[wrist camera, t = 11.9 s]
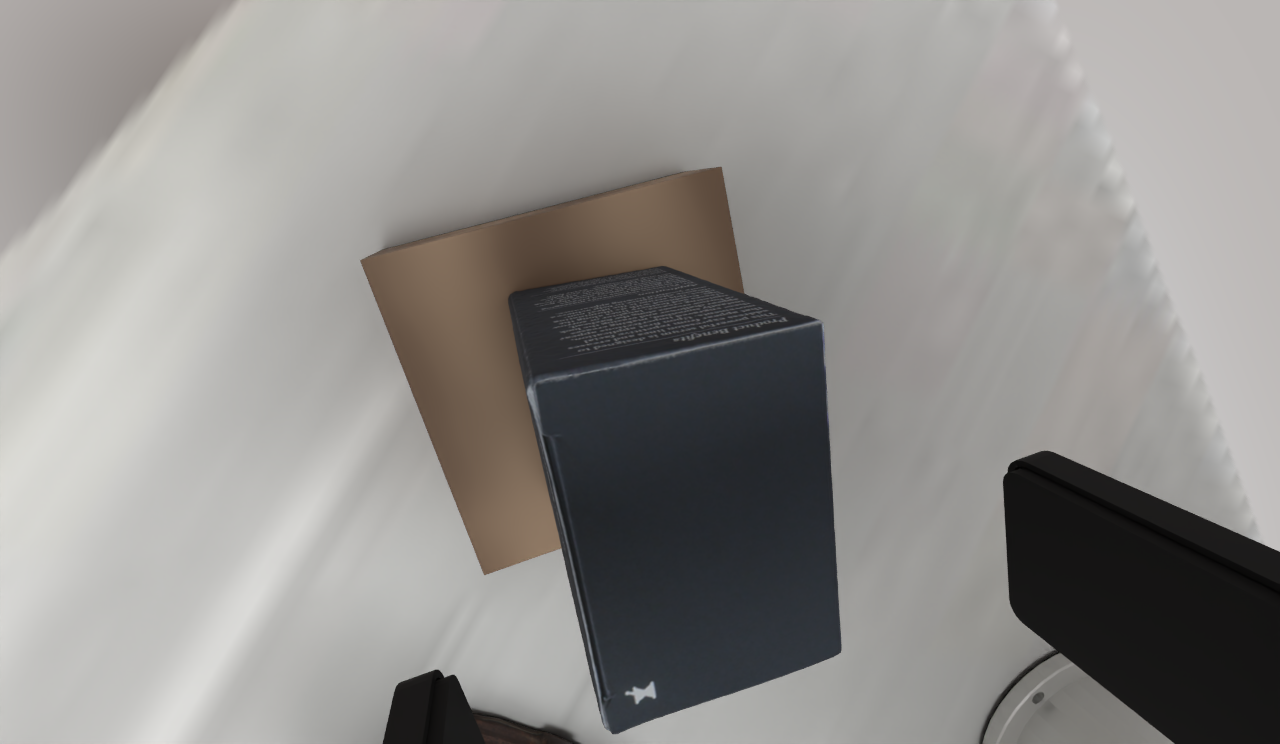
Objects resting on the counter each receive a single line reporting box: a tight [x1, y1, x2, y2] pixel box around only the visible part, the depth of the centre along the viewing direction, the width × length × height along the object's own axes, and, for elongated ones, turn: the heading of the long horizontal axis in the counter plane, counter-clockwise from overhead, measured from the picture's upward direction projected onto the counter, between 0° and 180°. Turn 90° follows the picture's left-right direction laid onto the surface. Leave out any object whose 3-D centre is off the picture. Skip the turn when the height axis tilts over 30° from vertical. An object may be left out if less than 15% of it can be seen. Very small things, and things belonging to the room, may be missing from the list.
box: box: [508, 266, 841, 734], centre depth 16 cm, size 8×6×11 cm
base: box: [360, 167, 744, 575], centre depth 23 cm, size 12×12×4 cm
